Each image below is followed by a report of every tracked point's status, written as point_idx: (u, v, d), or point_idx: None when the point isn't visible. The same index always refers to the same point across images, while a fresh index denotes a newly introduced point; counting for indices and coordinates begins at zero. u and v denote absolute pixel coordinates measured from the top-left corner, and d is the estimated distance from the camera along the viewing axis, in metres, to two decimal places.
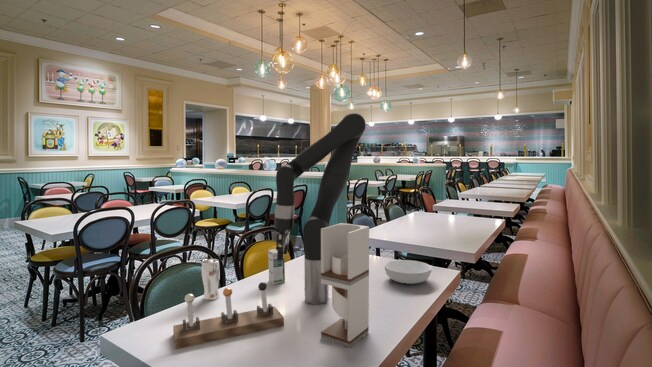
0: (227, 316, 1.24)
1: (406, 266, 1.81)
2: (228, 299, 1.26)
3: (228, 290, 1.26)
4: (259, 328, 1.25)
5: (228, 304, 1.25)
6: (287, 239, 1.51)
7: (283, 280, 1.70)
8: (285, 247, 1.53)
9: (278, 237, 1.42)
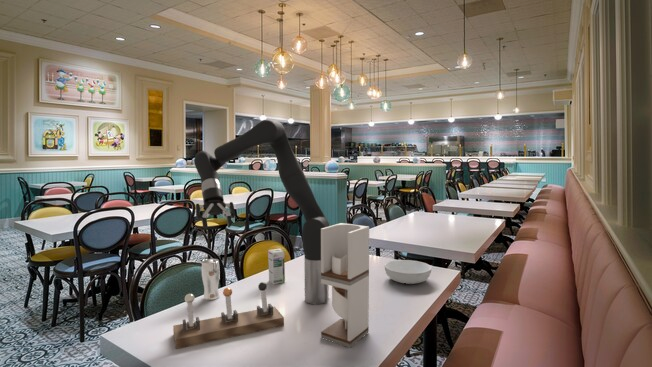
0: (227, 316, 1.24)
1: (406, 266, 1.81)
2: (228, 299, 1.26)
3: (228, 290, 1.26)
4: (259, 328, 1.25)
5: (228, 304, 1.25)
6: (222, 210, 1.44)
7: (283, 280, 1.70)
8: (227, 219, 1.43)
9: None
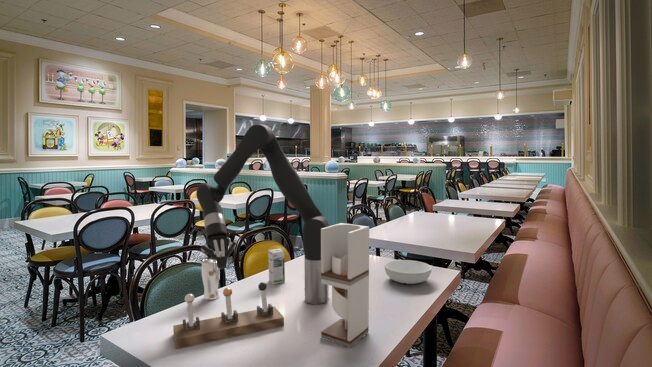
0: (227, 316, 1.24)
1: (406, 266, 1.81)
2: (228, 299, 1.26)
3: (228, 290, 1.26)
4: (259, 328, 1.25)
5: (228, 304, 1.25)
6: (220, 247, 1.38)
7: (283, 280, 1.70)
8: None
9: (202, 251, 1.37)
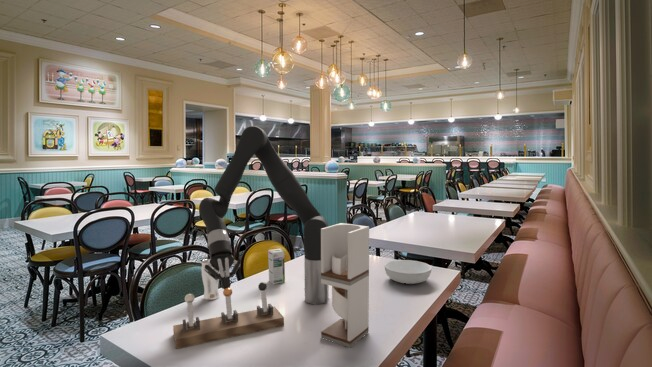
0: (227, 316, 1.24)
1: (406, 266, 1.81)
2: (228, 299, 1.25)
3: (228, 290, 1.25)
4: (259, 328, 1.25)
5: (228, 304, 1.25)
6: (225, 267, 1.31)
7: (283, 280, 1.70)
8: None
9: (206, 270, 1.30)
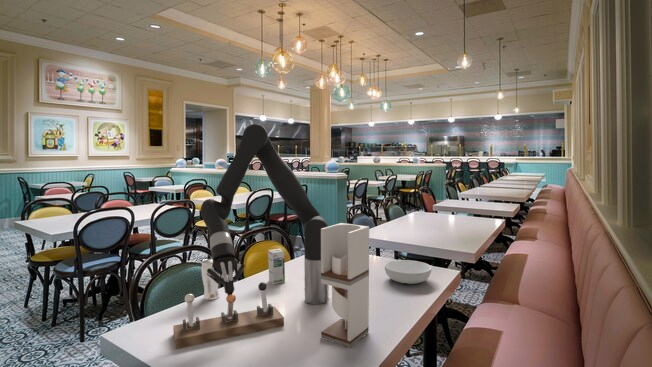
0: (227, 318, 1.24)
1: (406, 266, 1.81)
2: (230, 305, 1.22)
3: (231, 300, 1.20)
4: (259, 328, 1.25)
5: (230, 309, 1.23)
6: (228, 270, 1.26)
7: (283, 280, 1.70)
8: None
9: (208, 275, 1.25)
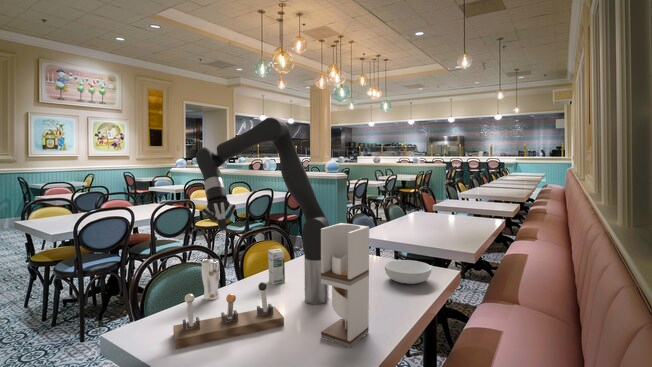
0: (227, 318, 1.24)
1: (406, 266, 1.81)
2: (231, 305, 1.22)
3: (231, 300, 1.20)
4: (259, 328, 1.25)
5: (230, 309, 1.23)
6: (221, 210, 1.44)
7: (283, 280, 1.70)
8: None
9: (204, 214, 1.43)
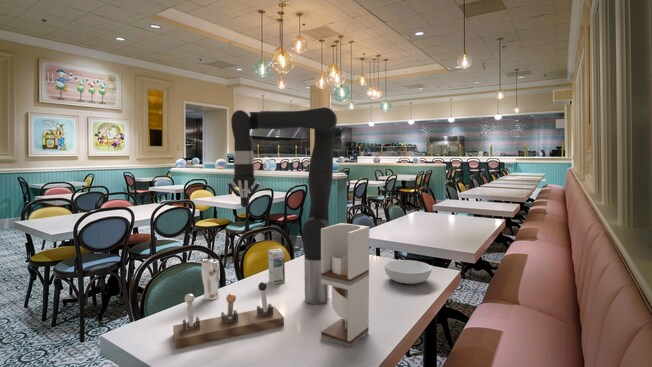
0: (227, 318, 1.24)
1: (406, 266, 1.81)
2: (231, 305, 1.22)
3: (231, 300, 1.20)
4: (259, 328, 1.25)
5: (230, 309, 1.23)
6: None
7: (283, 280, 1.70)
8: None
9: None
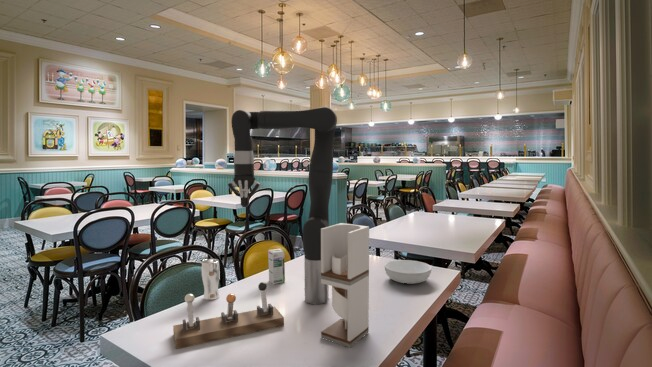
0: (227, 318, 1.24)
1: (406, 266, 1.81)
2: (231, 305, 1.22)
3: (231, 300, 1.20)
4: (259, 328, 1.25)
5: (230, 309, 1.23)
6: (244, 188, 1.47)
7: (283, 280, 1.70)
8: None
9: None
